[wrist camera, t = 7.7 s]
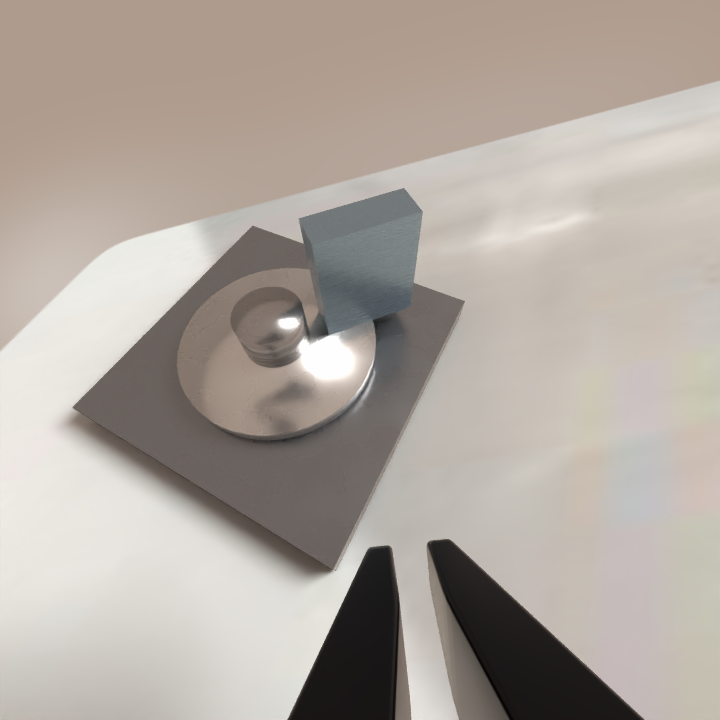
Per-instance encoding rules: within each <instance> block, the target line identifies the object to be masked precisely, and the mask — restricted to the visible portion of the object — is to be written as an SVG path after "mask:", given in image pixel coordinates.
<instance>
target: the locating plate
mask: <svg viewBox="0 0 720 720" xmlns="http://www.w3.org/2000/svg"><path fill="white" fill-rule="evenodd" d="M279 268H301V269H309V265H308V260H307V255H306V251H305V246H304V244H302V243H299V242H297V241H294V240H291V239H288V238H285V237H283V236H280V235H277V234H274V233H271V232H268V231H266V230H263V229H260V228H257V227H254V226H252V227H251V228H250V229H249V230H248V231H247V232H246V233H245V234H244V235H243V236H242V237H241V238H240V239H239V240H238V241H237V242H236V243H235V244H234V245H233V246H232V247H231V248H230V249H229V250H228V251H227V252H226V253H225V254H224V255H223V256H222V257H221V258H220V259H219V260H218V261H217V262H216V263H215V264H214V265H213V266H212V267H211V268H210V269H209V270H208V271H207V272H206V273H205V274H204V275H203V276H202V277H201V278H200V279H199V280H198V281H197V282H196V283H195V284H194V285H193V287H192V288H191V289H190V290H189V291H188V292H187V293H186V294H185V295H184V296H183V297H182V298H181V299H180V300H179V301H178V302H177V303H176V304H175V305H174V306H173V307H172V308H171V309H170V310H169V311H168V312H167V313H166V314H165V315H164V316H163V317H162V318H161V319H160V320H159V321H158V322H157V323H156V324H155V325H154V326H153V327H152V328H151V329H150V330H149V331H148V332H147V333H146V334H145V335H144V336H143V337H142V338H141V339H140V340H139V341H138V342H137V343H136V344H135V345H134V346H133V347H132V348H131V349H130V350H129V351H128V352H127V353H126V354H125V355H124V356H123V357H122V358H121V359H120V360H119V361H118V362H117V363H116V364H115V365H114V366H113V367H112V368H111V369H110V370H109V371H108V372H107V373H106V374H105V375H104V376H103V377H102V378H101V379H100V380H99V381H98V382H97V383H96V384H95V385H94V386H93V387H92V388H91V389H90V390H89V391H88V392H87V393H86V394H85V395H84V396H83V397H82V398H81V399H80V400H79V401H78V402H77V403H76V404H75V406H74V407H73V408H74V409H75V410H77V411H79V412H80V413H82V414H83V415H85V416H87V417H88V418H90V419H91V420H93V421H95V422H96V423H98V424H99V425H101V426H103V427H104V428H106V429H107V430H109V431H111V432H112V433H114V434H115V435H117V436H119V437H120V438H122V439H123V440H125V441H127V442H128V443H130V444H132V445H133V446H135V447H136V448H138V449H140V450H141V451H143V452H144V453H146V454H148V455H149V456H151V457H152V458H154V459H156V460H157V461H159V462H160V463H162V464H164V465H165V466H167V467H168V468H170V469H172V470H173V471H175V472H176V473H178V474H180V475H181V476H183V477H184V478H186V479H188V480H189V481H191V482H192V483H194V484H196V485H197V486H199V487H200V488H202V489H204V490H205V491H207V492H209V493H210V494H212V495H213V496H215V497H217V498H218V499H220V500H221V501H223V502H225V503H226V504H228V505H229V506H231V507H233V508H234V509H236V510H237V511H239V512H241V513H242V514H244V515H245V516H247V517H249V518H250V519H252V520H253V521H255V522H257V523H258V524H260V525H261V526H263V527H265V528H266V529H268V530H269V531H271V532H273V533H274V534H276V535H277V536H279V537H281V538H282V539H284V540H286V541H287V542H289V543H290V544H292V545H294V546H295V547H297V548H298V549H300V550H302V551H303V552H305V553H306V554H308V555H310V556H311V557H313V558H314V559H316V560H318V561H319V562H321V563H322V564H324V565H326V566H327V567H329V568H330V569H332V570H335V571H336V570H337V568H338V566H339V564H340V561H341V559H342V557H343V555H344V553H345V551H346V549H347V547H348V545H349V543H350V541H351V539H352V537H353V535H354V533H355V531H356V529H357V526H358V524H359V522H360V520H361V518H362V516H363V514H364V512H365V510H366V508H367V506H368V504H369V502H370V500H371V498H372V496H373V494H374V491H375V489H376V487H377V485H378V483H379V481H380V479H381V477H382V475H383V473H384V471H385V469H386V467H387V465H388V463H389V461H390V459H391V457H392V454H393V452H394V450H395V448H396V446H397V444H398V442H399V440H400V438H401V436H402V434H403V432H404V430H405V428H406V426H407V424H408V422H409V419H410V417H411V415H412V413H413V411H414V409H415V407H416V405H417V403H418V401H419V399H420V397H421V395H422V393H423V391H424V389H425V387H426V385H427V382H428V380H429V378H430V376H431V374H432V372H433V370H434V368H435V366H436V364H437V362H438V360H439V358H440V356H441V354H442V352H443V350H444V347H445V345H446V343H447V341H448V339H449V337H450V335H451V333H452V331H453V329H454V327H455V325H456V323H457V321H458V319H459V317H460V314H461V311H462V308H463V305H464V302H465V301H463V300H460V299H457V298H454V297H451V296H448V295H446V294H443V293H440V292H437V291H434V290H432V289H429V288H426V287H423V286H420V285H418V284H415V283H413V289H412V297H411V305H410V307H408V308H406V309H403V310H400V311H397V312H394V313H391V314H389V315H386V316H383V317H380V318H377V319H374V320H373V323H374V327H375V336H376V350H375V360H374V365H373V369H372V372H371V374H370V377H369V380H368V381H367V383H366V385H365V387H364V389H363V390H362V392H361V393H360V395H359V396H358V397H357V399H356V400H355V401H354V402H353V403H352V404H351V405H350V406H349V407H348V408H347V409H346V410H345V411H344V412H343V413H342V414H340V415H339V416H338V417H337V418H335V419H334V420H332V421H330V422H329V423H327V424H326V425H324V426H322V427H320V428H318V429H316V430H314V431H311V432H309V433H306V434H303V435H300V436H296V437H291V438H286V439H279V440H254V439H249V438H244V437H240V436H237V435H234V434H231V433H228V432H226V431H224V430H222V429H220V428H218V427H217V426H215V425H214V424H213V423H211V422H210V421H209V420H207V419H206V418H205V417H204V416H203V415H202V414H201V413H200V412H199V411H198V410H197V409H196V408H195V407H194V406H193V405H192V404H191V402H190V401H189V399H188V398H187V396H186V395H185V393H184V391H183V389H182V386H181V384H180V380H179V376H178V370H177V355H178V349H179V344H180V340H181V338H182V335H183V333H184V330H185V328H186V327H187V325H188V323H189V321H190V320H191V318H192V317H193V315H194V314H195V313H196V311H197V310H198V309H199V308H200V307H201V306H202V305H203V304H204V303H205V302H206V301H207V300H208V299H209V298H210V297H211V296H212V295H214V294H215V293H216V292H218V291H219V290H221V289H222V288H224V287H225V286H227V285H229V284H230V283H232V282H234V281H236V280H238V279H241V278H243V277H245V276H248V275H251V274H254V273H258V272H261V271H265V270H271V269H279Z"/></svg>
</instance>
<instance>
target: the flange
mask: <svg viewBox="0 0 720 720" xmlns="http://www.w3.org/2000/svg"><path fill="white" fill-rule="evenodd" d="M422 213H423V212H422V210H421V209H420V208H419V206H418V205H417V204H416V203H415V201H414V200H413V199H412V198H411V196H410V195H409V194H408V193H407V191H406V190H405V189H404V188H403V189H399V190H396V191H392V192H389V193H385V194H382V195H379V196H375V197H372V198H368V199H365V200H361V201H358V202H354V203H351V204H348V205H344V206H341V207H337V208H334V209H330V210H327V211H323V212H320V213H316V214H313V215H310V216H306V217H303V218H299V222H300V227H301V232H302V236H303V241H304V246H305V251H306V255H307V260H308V265H309V269H301V268H279V269H271V270H265V271H261V272H258V273H254V274H251V275H248V276H245V277H243V278H241V279H238V280H236V281H234V282H232V283H230V284H229V285H227V286H225V287H224V288H222V289H221V290H219V291H218V292H216V293H215V294H214V295H212V296H211V297H210V298H209V299H208V300H207V301H206V302H205V303H204V304H203V305H202V306H201V307H200V308H199V309H198V310H197V311H196V313H195V314H194V315H193V317H192V318H191V320H190V321H189V323H188V325H187V327H186V328H185V330H184V333H183V335H182V338H181V340H180V344H179V349H178V355H177V370H178V376H179V380H180V384H181V386H182V389H183V391H184V393H185V395H186V396H187V398H188V399H189V401H190V402H191V404H192V405H193V406H194V407H195V408H196V409H197V410H198V411H199V412H200V413H201V414H202V415H203V416H204V417H205V418H206V419H207V420H209V421H210V422H211V423H213V424H214V425H215V426H217V427H218V428H220V429H222V430H224V431H226V432H228V433H231V434H234V435H237V436H240V437H244V438H249V439H254V440H279V439H286V438H291V437H296V436H300V435H303V434H306V433H309V432H311V431H314V430H316V429H318V428H320V427H322V426H324V425H326V424H327V423H329V422H330V421H332V420H334V419H335V418H337V417H338V416H339V415H340V414H342V413H343V412H344V411H345V410H346V409H347V408H348V407H349V406H350V405H351V404H352V403H353V402H354V401H355V400H356V399H357V397H358V396H359V395H360V393H361V392H362V390H363V389H364V387H365V385H366V383H367V381H368V380H369V377H370V374H371V372H372V369H373V365H374V360H375V350H376V336H375V327H374V323H373V320H374V319H377V318H380V317H383V316H386V315H389V314H391V313H394V312H397V311H400V310H403V309H406V308H408V307H410V305H411V297H412V289H413V282H414V274H415V266H416V259H417V251H418V243H419V236H420V228H421V220H422Z"/></svg>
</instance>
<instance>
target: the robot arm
mask: <svg viewBox="0 0 720 720" xmlns="http://www.w3.org/2000/svg"><path fill="white" fill-rule="evenodd" d="M427 557H428V569H429V580H430V588H431V594H432V599H433V604H434V609H435V614H436V619H437V624H438V629H439V634H440V638H441V643H442V648H443V653H444V658H445V663H446V668H447V673H448V678H449V682H450V687H451V691H452V696H453V700H454V703H455V707H456V710H457V714H458V717H459V720H644V719H643V718H642V717H641V716H640V715H639V714H638V713H637V712H636V711H635V710H634V709H632V708H631V707H630V706H629V705H628V704H627V703H626V702H625V701H624V700H623V699H622V698H621V697H620V696H618V695H617V694H616V693H615V692H614V691H613V690H612V689H611V688H610V687H609V686H608V685H607V684H606V683H604V682H603V681H602V680H601V679H600V678H599V677H598V676H597V675H596V674H595V673H594V672H593V671H592V670H590V669H589V668H588V667H587V666H586V665H585V664H584V663H583V662H582V661H581V660H580V659H579V658H578V657H576V656H575V655H574V654H573V653H572V652H571V651H570V650H569V649H568V648H567V647H566V646H565V645H564V644H562V643H561V642H560V641H559V640H558V639H557V638H556V637H555V636H554V635H553V634H552V633H551V632H550V631H548V630H547V629H546V628H545V627H544V626H543V625H542V624H541V623H540V622H539V621H538V620H537V619H535V618H534V617H533V616H532V615H531V614H530V613H529V612H528V611H527V610H526V609H525V608H524V607H523V606H521V605H520V604H519V603H518V602H517V601H516V600H515V599H514V598H513V597H512V596H511V595H510V594H509V593H507V592H506V591H505V590H504V589H503V588H502V587H501V586H500V585H499V584H498V583H497V582H496V581H495V580H493V579H492V578H491V577H490V576H489V575H488V574H487V573H486V572H485V571H484V570H483V569H482V568H481V567H479V566H478V565H477V564H476V563H475V562H474V561H473V560H472V559H471V558H470V557H469V556H468V555H467V554H465V553H464V552H463V551H462V550H461V549H460V548H459V547H458V546H457V545H456V544H455V543H454V542H452V541H451V540H449V539H442V540H433V541H429V542H428V543H427ZM288 720H411V706H410V695H409V685H408V676H407V667H406V657H405V648H404V639H403V630H402V620H401V611H400V602H399V593H398V586H397V579H396V573H395V566H394V559H393V552H392V548H391V547H390V546H378V547H371V548H369V549H368V550H367V552H366V554H365V556H364V558H363V560H362V563H361V565H360V567H359V569H358V571H357V573H356V575H355V577H354V580H353V582H352V584H351V586H350V588H349V590H348V592H347V594H346V597H345V599H344V601H343V603H342V605H341V607H340V609H339V611H338V613H337V616H336V618H335V620H334V622H333V624H332V626H331V628H330V630H329V633H328V635H327V637H326V639H325V641H324V643H323V645H322V647H321V650H320V652H319V654H318V656H317V658H316V660H315V662H314V664H313V667H312V669H311V671H310V673H309V675H308V677H307V679H306V681H305V684H304V686H303V688H302V690H301V692H300V694H299V696H298V698H297V701H296V703H295V705H294V707H293V709H292V711H291V713H290V715H289V718H288Z"/></svg>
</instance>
